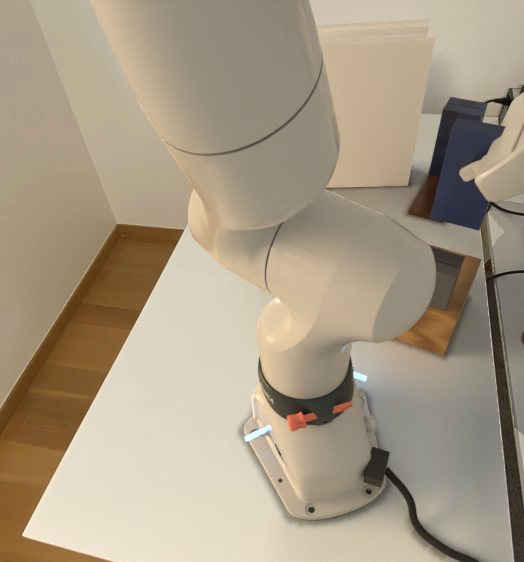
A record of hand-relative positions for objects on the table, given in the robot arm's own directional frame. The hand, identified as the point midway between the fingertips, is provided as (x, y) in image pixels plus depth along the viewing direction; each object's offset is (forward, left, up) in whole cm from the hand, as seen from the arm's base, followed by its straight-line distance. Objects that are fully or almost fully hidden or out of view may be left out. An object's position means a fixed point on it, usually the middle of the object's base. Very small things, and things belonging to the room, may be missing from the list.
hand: (466, 166), depth 66 cm
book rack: (+25, -15, -25) cm, 39 cm away
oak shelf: (-4, +2, -25) cm, 26 cm away
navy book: (0, 0, -8) cm, 9 cm away
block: (+39, +5, -26) cm, 47 cm away
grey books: (-6, +5, -16) cm, 18 cm away
